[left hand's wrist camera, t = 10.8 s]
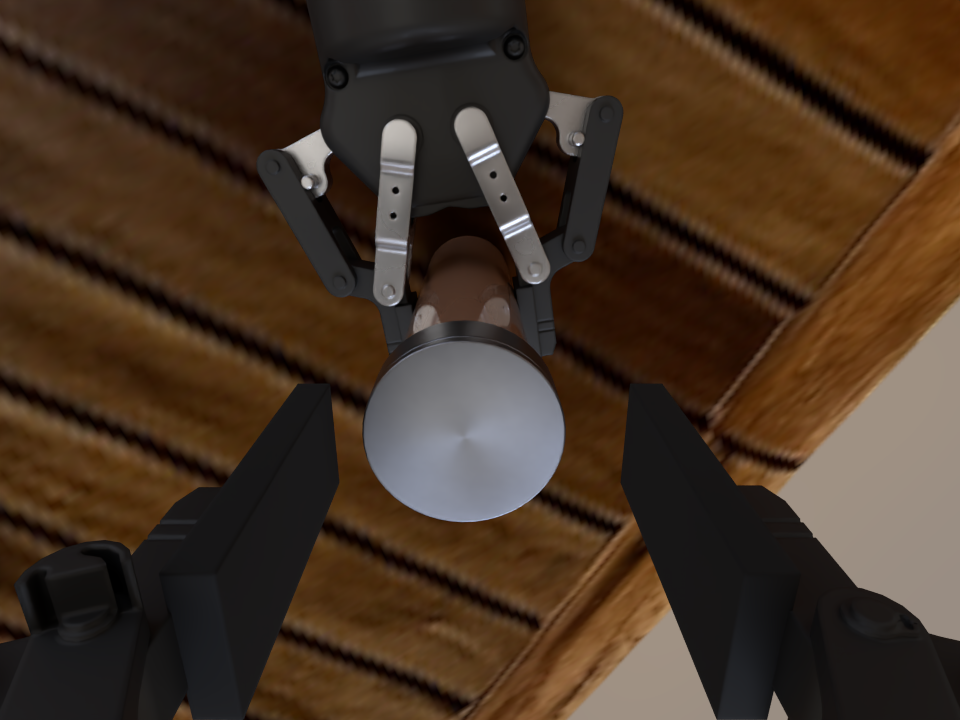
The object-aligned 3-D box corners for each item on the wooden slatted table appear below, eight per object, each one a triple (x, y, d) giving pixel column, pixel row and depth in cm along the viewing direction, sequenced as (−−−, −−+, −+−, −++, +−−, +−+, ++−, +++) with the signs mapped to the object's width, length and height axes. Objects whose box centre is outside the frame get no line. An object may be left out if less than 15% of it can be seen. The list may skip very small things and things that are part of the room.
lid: (355, 462, 17) (342, 496, 15) (397, 296, 15) (388, 315, 13) (523, 504, 17) (528, 541, 16) (582, 348, 16) (594, 372, 14)
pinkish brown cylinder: (418, 302, 32) (362, 478, 15) (439, 225, 30) (402, 328, 14) (494, 324, 32) (518, 516, 16) (518, 248, 31) (572, 375, 14)
